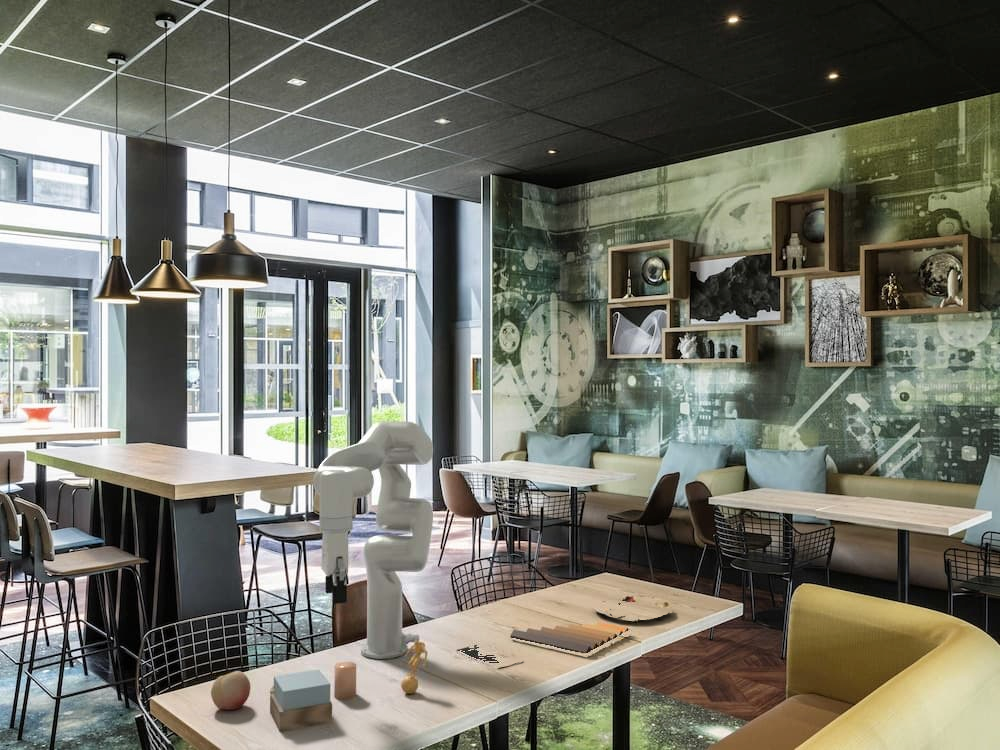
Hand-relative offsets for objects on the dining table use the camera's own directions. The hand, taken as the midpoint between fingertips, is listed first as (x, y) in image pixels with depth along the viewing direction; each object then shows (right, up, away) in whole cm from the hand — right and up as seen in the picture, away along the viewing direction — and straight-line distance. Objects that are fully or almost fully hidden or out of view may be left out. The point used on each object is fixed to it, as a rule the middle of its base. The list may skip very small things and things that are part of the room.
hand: (335, 597), depth 184 cm
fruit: (-22, -23, -7) cm, 33 cm away
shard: (-14, -24, +6) cm, 28 cm away
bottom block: (-5, -23, -12) cm, 27 cm away
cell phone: (+35, -24, +29) cm, 52 cm away
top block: (-5, -19, -11) cm, 23 cm away
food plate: (+81, -25, +70) cm, 110 cm away
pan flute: (+58, -25, +45) cm, 78 cm away
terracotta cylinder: (+2, -23, +1) cm, 23 cm away
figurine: (+18, -23, +3) cm, 30 cm away
